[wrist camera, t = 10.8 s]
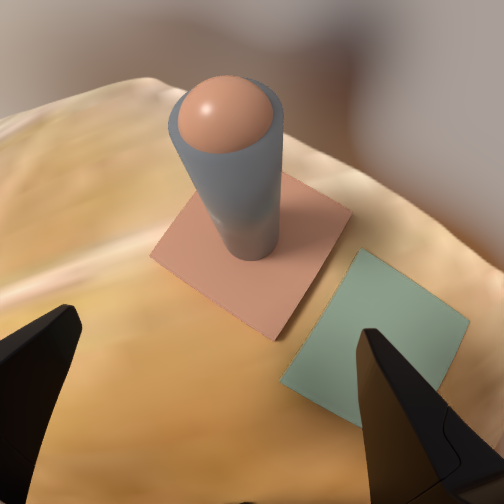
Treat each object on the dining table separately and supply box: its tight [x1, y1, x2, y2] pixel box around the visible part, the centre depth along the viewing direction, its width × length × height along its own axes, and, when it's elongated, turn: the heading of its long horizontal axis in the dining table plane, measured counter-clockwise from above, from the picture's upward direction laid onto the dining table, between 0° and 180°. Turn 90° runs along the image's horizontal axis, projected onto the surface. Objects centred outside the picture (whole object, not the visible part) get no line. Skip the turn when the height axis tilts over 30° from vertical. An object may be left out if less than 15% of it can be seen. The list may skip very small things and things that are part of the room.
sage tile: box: [279, 248, 470, 428], centre depth 20 cm, size 11×11×1 cm
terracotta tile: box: [149, 172, 353, 341], centre depth 23 cm, size 11×11×1 cm
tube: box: [168, 76, 284, 261], centre depth 16 cm, size 4×4×14 cm
